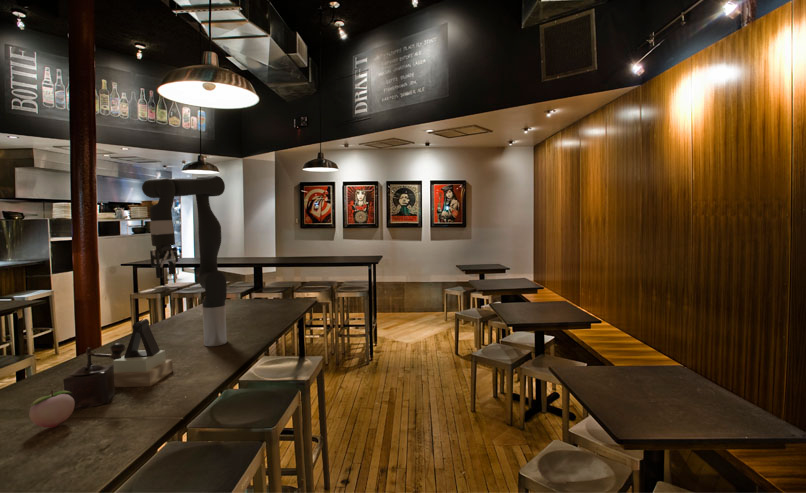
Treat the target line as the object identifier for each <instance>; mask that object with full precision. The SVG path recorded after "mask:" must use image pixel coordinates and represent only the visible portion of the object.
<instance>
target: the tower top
mask: <svg viewBox="0 0 806 493" xmlns="http://www.w3.org/2000/svg"><path fill="white" fill-rule="evenodd" d="M138 351H146V350H144V349H143V350H142V349H140V350H139V349H138ZM124 356H125V354H124V355H121V358H120V359H115V360H114V359H113V361H112V364H113V365H114V372H147V371H149V370H151V369H153V368H154V367H156V366H158V365H159V364H161V363H163V362H165V361H166V350H165V349H164V350H163V349H160V351H159V352H157V353H156V354H155V355H153V356H150V357H135V358H124Z"/></svg>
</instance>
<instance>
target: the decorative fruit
mask: <svg viewBox="0 0 806 493" xmlns="http://www.w3.org/2000/svg"><path fill="white" fill-rule="evenodd" d="M66 393H71V392H69V391H64V390H59V391H55V392H54V390H51V393H50V394H49V395H45V396H41V397H39V398H37V399H35V400H34V401H33V402H31V405H30V409H29V412H28V413H29V414H28V416H29V419H30V420H31V422H32V423H33V424H34V425H36V426H39V427H42V428H52V429H53V428H56V427H57V426H58V425H60V424H61V423H63V422H65V421H66V420H67V419H69V418H70V416H71V415H72V414H73V411H75V409H74V405H75V402H74V399H73V398H72V397H71V396H70V395H68V394H66Z"/></svg>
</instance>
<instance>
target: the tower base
mask: <svg viewBox="0 0 806 493" xmlns="http://www.w3.org/2000/svg"><path fill="white" fill-rule="evenodd" d="M165 359H166V358H165ZM173 366H174V365H173V359H171V358H170V359H169V358H168V359H166V361H165V362H163V363H161V364H159V365H158V366H156V367H154V368H153V369H151V370H149V371H147V372H114V385H115V388H122V387H123V388H125V387H127V388H129V387H130V388H131V387H151V386H152V385H155V384H157V382H159V381H160V380H162V379H163V378H165V377H166V376H168V375H170V374H171V373H172V372H173V371H174V368H173Z"/></svg>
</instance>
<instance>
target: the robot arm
mask: <svg viewBox="0 0 806 493" xmlns="http://www.w3.org/2000/svg"><path fill="white" fill-rule="evenodd" d="M141 190H142V192H143V194H144V195H145V196H146V197H147V198H150V199H158V202H157V203H156V204H152V205H151V206H150V207H149V218H150V227H149V228H150V238H151V246H152V247H155V249H150V250H149V251H150V253H149V254H150V266H151V267H153V268H154V269H155V275H156V276H155V277H156V279H163V278H164V268H163V266H164V263H166V262H167V264H168V266H167V268H168V274H169V275H175V274H176V264H177V263H178V262H179V256H178V247H177V246H175V245H176V237H175V236H176V234H175V226H174V222H173V220H174V219H173V211H172V209H173V205H174V200H175V197H187V196H194V195H195V200H196V207H197V221H198V222H197V223H198V224H197V226H198V228H197V230H198V246H199V272H198V274H199V275H198V282H199V285H200V287H201V288H203V290H204V295H205V296H204V299H203V300H202V304H201V305H202V325H203V326H202V327H203V345H204V346H205V347H218V346H222V345H225V344H227V342H228V341H227V340H228V339H227V321H226V320H227V319H226V318H227V317H226V300H227V297H228V295H227V287H228V286H227V285H228V284H227V283H228V282H227V277H226V275H225V274H224V273H223V272H222V271H220V270H219V269H218V257H219V255H218V254H219V252H220V247H221V244H222V225H221V223H220V221H219V219H218V218H217V217H216V215H215V213H214V212H213V210H212V208H211V205H210V197H219V196H221V195H223V194H224V192H225V190H226V184H225V181H224V180H223V178H222V177H221V176H218V175H211V174H210V175H198V176H197V177H196V178H185V177H183V178H180V177H179V178H177V177H176V178H166V177H164V178H162V177H160V178H149V179H147V180H145V181H143V183H142V186H141ZM172 246H173V247H172Z"/></svg>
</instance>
